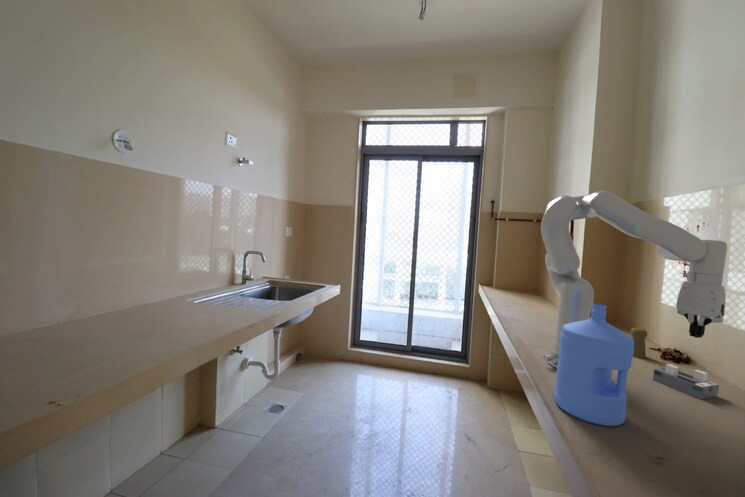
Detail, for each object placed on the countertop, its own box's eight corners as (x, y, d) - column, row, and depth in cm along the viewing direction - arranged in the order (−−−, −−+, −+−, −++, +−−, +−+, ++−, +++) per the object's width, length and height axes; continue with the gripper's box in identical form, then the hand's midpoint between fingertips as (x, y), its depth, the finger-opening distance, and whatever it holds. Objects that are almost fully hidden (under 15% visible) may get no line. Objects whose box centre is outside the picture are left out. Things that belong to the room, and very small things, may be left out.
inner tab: (673, 379, 102) (674, 367, 102) (664, 376, 104) (665, 364, 104) (677, 379, 103) (678, 367, 102) (668, 375, 105) (669, 364, 105)
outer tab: (702, 386, 99) (703, 373, 98) (692, 382, 101) (694, 370, 101) (706, 385, 99) (707, 373, 99) (696, 382, 102) (697, 369, 101)
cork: (649, 359, 126) (653, 331, 125) (632, 357, 127) (635, 329, 126) (640, 353, 132) (643, 327, 131) (623, 351, 133) (626, 325, 132)
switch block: (701, 399, 95) (703, 386, 95) (652, 379, 107) (654, 368, 106) (717, 396, 97) (718, 384, 97) (668, 377, 109) (669, 366, 109)
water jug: (543, 403, 86) (554, 300, 84) (567, 389, 95) (578, 296, 94) (612, 436, 73) (627, 316, 72) (633, 415, 83) (646, 309, 81)
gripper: (668, 275, 106) (660, 329, 107) (730, 283, 92) (720, 346, 93) (682, 275, 108) (674, 328, 110) (745, 284, 94) (735, 344, 95)
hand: (695, 336), depth 101 cm, fingers closed
